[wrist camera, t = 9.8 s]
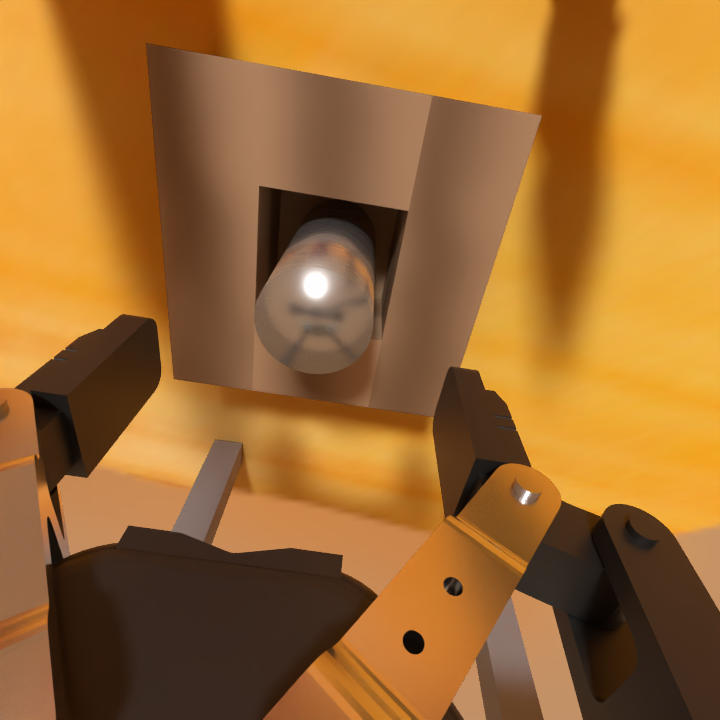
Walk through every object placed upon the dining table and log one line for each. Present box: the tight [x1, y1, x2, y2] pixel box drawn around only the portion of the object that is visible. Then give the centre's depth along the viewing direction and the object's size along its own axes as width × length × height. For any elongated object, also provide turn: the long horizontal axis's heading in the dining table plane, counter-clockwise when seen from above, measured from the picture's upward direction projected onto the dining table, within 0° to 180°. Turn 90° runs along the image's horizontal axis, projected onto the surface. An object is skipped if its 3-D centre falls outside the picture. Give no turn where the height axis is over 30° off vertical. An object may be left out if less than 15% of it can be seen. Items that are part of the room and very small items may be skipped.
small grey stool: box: [171, 440, 544, 720], centre depth 20 cm, size 21×11×26 cm, turn 81°
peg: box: [254, 199, 376, 374], centre depth 19 cm, size 4×4×10 cm
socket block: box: [146, 43, 542, 417], centre depth 21 cm, size 14×14×6 cm
